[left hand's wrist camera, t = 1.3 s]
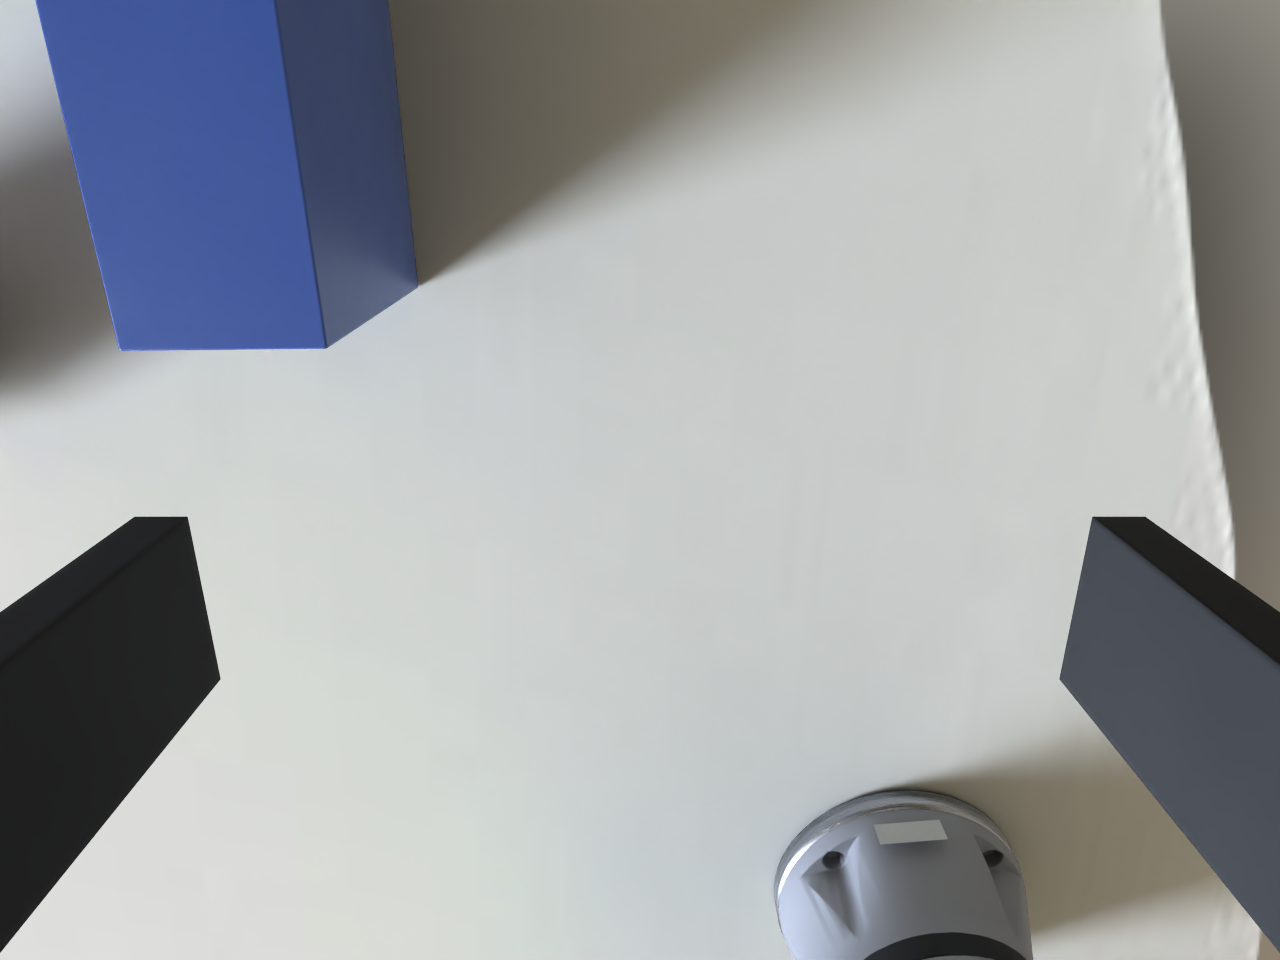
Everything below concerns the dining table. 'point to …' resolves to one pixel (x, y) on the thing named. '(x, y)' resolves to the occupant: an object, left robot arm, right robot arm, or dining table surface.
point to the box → (236, 166)
